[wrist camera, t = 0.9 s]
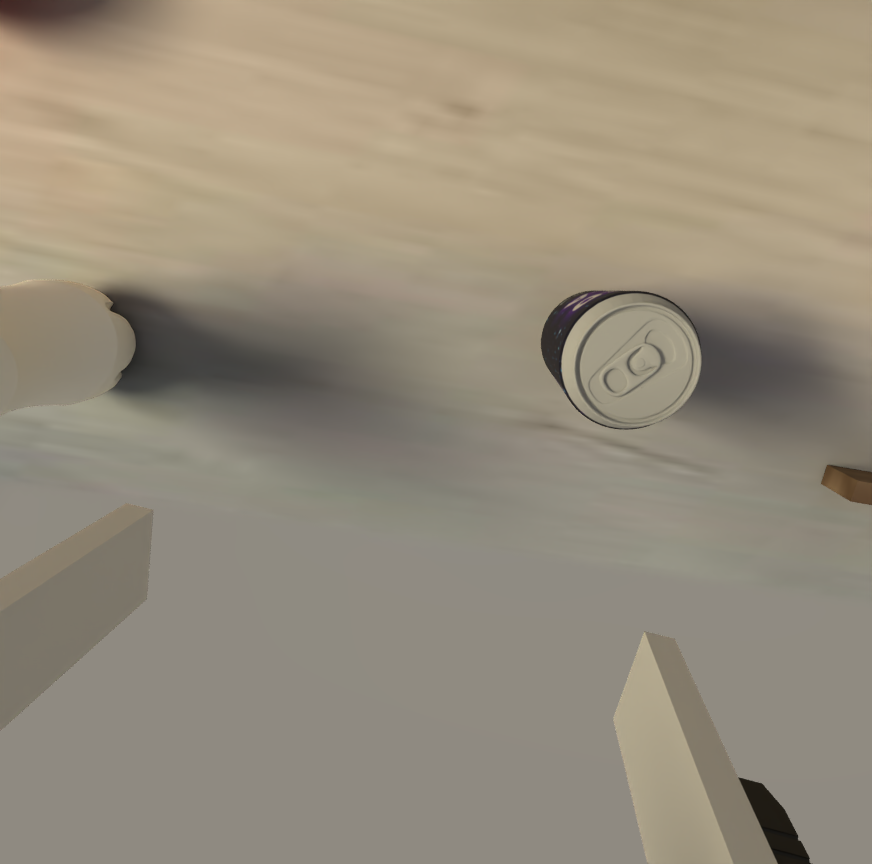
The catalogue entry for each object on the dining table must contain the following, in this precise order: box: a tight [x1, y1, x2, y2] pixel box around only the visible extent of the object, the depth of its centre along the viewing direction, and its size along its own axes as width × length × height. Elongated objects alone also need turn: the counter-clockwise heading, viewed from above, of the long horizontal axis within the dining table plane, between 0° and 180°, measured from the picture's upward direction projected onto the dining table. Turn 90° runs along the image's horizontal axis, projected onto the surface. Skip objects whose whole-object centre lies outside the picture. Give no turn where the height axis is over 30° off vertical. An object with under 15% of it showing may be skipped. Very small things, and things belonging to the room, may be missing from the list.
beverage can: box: [541, 291, 702, 429], centre depth 28 cm, size 6×6×12 cm
